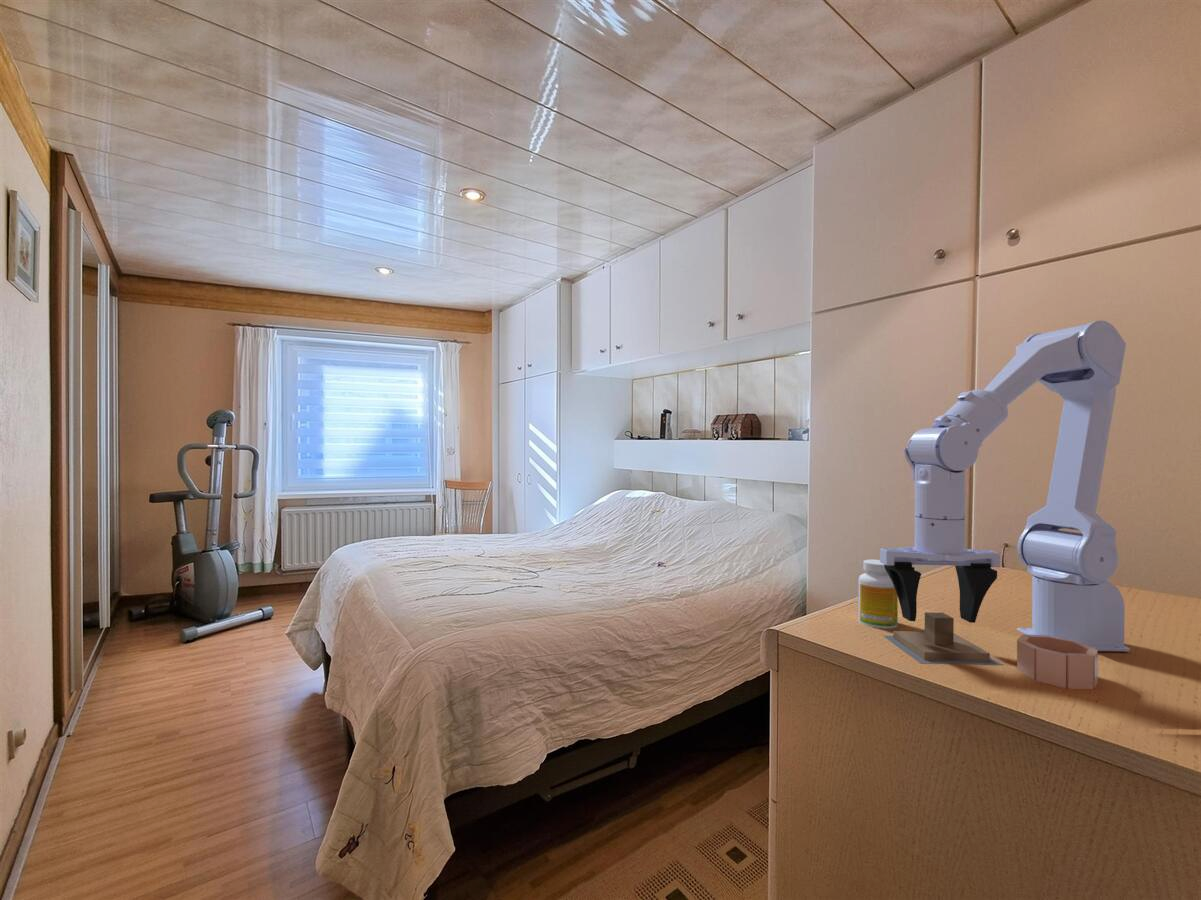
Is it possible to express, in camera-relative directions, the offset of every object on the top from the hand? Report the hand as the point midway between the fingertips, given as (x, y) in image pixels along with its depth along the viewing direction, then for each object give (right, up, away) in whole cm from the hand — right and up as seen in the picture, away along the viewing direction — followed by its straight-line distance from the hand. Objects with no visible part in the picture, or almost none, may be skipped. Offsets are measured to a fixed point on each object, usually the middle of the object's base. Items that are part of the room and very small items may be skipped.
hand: (938, 619), depth 73 cm
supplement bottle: (-2, -5, +11) cm, 12 cm away
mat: (0, -4, 0) cm, 4 cm away
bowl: (+9, -4, -8) cm, 13 cm away
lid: (0, -4, 0) cm, 4 cm away
